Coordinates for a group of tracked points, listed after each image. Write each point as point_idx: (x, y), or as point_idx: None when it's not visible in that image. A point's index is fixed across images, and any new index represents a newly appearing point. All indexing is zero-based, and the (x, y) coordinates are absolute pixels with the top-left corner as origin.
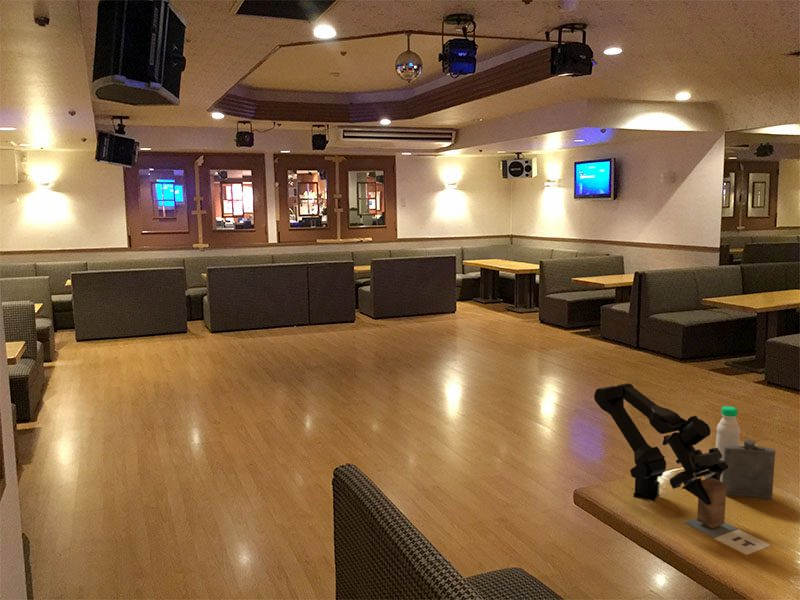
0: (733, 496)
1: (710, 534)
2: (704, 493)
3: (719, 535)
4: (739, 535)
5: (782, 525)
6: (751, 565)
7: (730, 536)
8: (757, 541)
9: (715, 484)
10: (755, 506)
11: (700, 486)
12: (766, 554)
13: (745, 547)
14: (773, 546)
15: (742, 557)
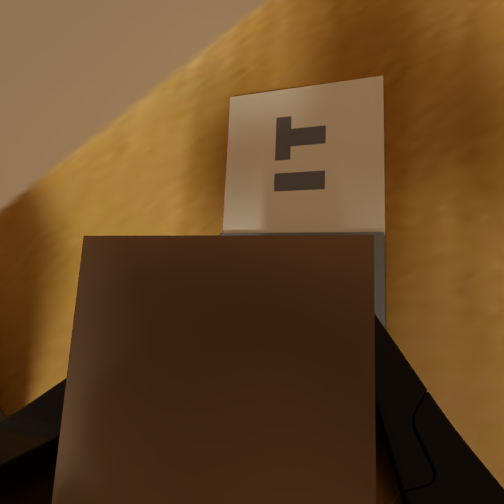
0: (3, 415)
1: (375, 258)
2: (397, 375)
3: (344, 232)
4: (264, 195)
5: (75, 184)
6: (430, 24)
7: (303, 207)
8: (247, 134)
9: (227, 321)
10: (19, 318)
11: (454, 500)
12: (298, 66)
13: (332, 118)
14: (224, 98)
15: (406, 80)
